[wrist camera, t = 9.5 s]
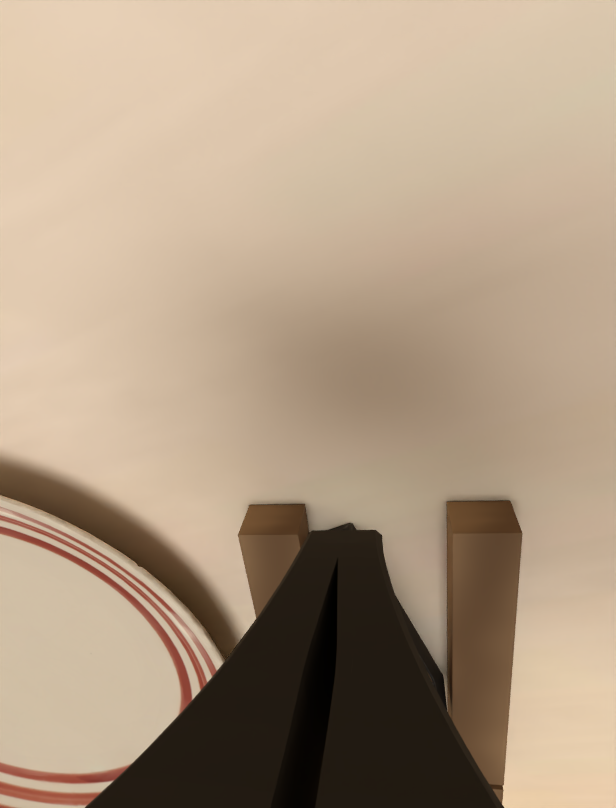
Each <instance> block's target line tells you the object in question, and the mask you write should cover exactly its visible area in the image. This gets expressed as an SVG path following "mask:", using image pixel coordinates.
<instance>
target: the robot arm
mask: <svg viewBox="0 0 616 808" xmlns="http://www.w3.org/2000/svg"><path fill="white" fill-rule="evenodd" d="M85 808H504V807H503V805H502V804H501V802H500V800H499V799H498V797H497V796H496V794H495V792H494V791H493V789H492V788H491V786H490V784H489V783H488V781H487V780H486V778H485V777H484V775H483V773H482V772H481V770H480V768H479V767H478V765H477V763H476V762H475V760H474V758H473V756H472V755H471V753H470V751H469V749H468V748H467V746H466V744H465V742H464V741H463V739H462V737H461V735H460V734H459V732H458V730H457V728H456V727H455V725H454V723H453V721H452V719H451V717H450V715H449V714H448V712H447V710H446V708H445V706H444V704H443V702H442V701H441V699H440V697H439V695H438V693H437V691H436V689H435V687H434V685H433V683H432V681H431V679H430V677H429V675H428V673H427V671H426V668H425V666H424V664H423V662H422V660H421V657H420V655H419V653H418V651H417V649H416V647H415V644H414V642H413V640H412V637H411V635H410V633H409V630H408V628H407V625H406V623H405V620H404V618H403V615H402V612H401V610H400V607H399V604H398V602H397V599H396V597H395V594H394V591H393V588H392V585H391V581H390V578H389V574H388V571H387V567H386V563H385V559H384V554H383V544H382V535H381V534H380V533H379V532H377V531H376V530H323V531H312V532H310V533H309V534H308V535H307V537H306V539H305V541H304V543H303V545H302V547H301V548H300V550H299V552H298V554H297V556H296V557H295V559H294V561H293V563H292V564H291V566H290V568H289V569H288V571H287V573H286V574H285V576H284V578H283V579H282V581H281V582H280V584H279V586H278V587H277V589H276V590H275V592H274V593H273V595H272V596H271V598H270V599H269V601H268V602H267V604H266V605H265V607H264V608H263V610H262V611H261V613H260V614H259V616H258V617H257V619H256V620H255V621H254V623H253V624H252V626H251V627H250V628H249V630H248V631H247V632H246V634H245V635H244V636H243V638H242V639H241V640H240V642H239V643H238V644H237V646H236V647H235V648H234V650H233V651H232V652H231V654H230V655H229V656H228V658H227V659H226V660H225V662H224V663H223V664H222V665H221V667H220V668H219V669H218V670H217V671H216V673H215V674H214V675H213V676H212V678H211V679H210V680H209V681H208V682H207V684H206V685H205V686H204V687H203V688H202V689H201V691H200V692H199V693H198V694H197V695H196V696H195V697H194V699H193V700H192V701H191V702H190V703H189V704H188V705H187V707H186V708H185V709H184V710H183V711H182V712H181V713H180V714H179V715H178V716H177V717H176V718H175V720H174V721H173V722H172V723H171V724H170V725H169V726H168V727H167V728H166V729H165V730H164V731H163V732H162V733H161V734H160V735H159V736H158V738H157V739H156V740H155V741H154V742H153V743H152V744H151V745H150V746H149V747H148V748H147V749H146V750H145V751H144V752H143V753H142V754H141V755H140V756H139V757H138V758H137V759H136V760H135V761H134V762H133V763H132V764H131V765H130V766H129V767H128V768H127V769H126V770H125V771H124V772H123V773H122V774H121V775H119V776H118V777H117V778H116V779H115V780H114V781H113V782H112V783H111V784H110V785H109V786H107V787H106V788H105V789H104V790H103V791H102V792H101V793H100V794H99V795H98V796H97V797H96V798H94V799H93V800H92V801H91V802H90V803H89V804H88V805H87V806H86V807H85Z"/></svg>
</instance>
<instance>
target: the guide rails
mask: <svg viewBox="0 0 616 808" xmlns="http://www.w3.org/2000/svg"><path fill="white" fill-rule="evenodd" d="M308 534H309V529H308V522H307V515H306V509H305V504H293V505H249V508H248V510H247V513H246V516H245V518H244V521H243V523H242V526H241V529H240V531H239V534H238V537H239V542H240V546H241V551H242V555H243V560H244V564H245V569H246V573H247V578H248V582H249V587H250V591H251V596H252V600H253V605H254V609H255V614H256V618H257V617H258V616H259V614H260V613H261V611H262V610H263V608H264V607H265V605H266V604H267V602H268V601H269V599H270V598H271V596H272V595H273V593H274V592H275V590H276V589H277V587H278V586H279V584H280V582H281V581H282V579H283V578H284V576H285V574H286V573H287V571H288V569H289V568H290V566H291V564H292V563H293V561H294V559H295V557H296V556H297V554H298V552H299V550H300V548H301V547H302V545H303V543H304V541H305V539H306V537H307V535H308ZM521 544H522V531H521V528H520V526H519V523H518V520H517V518H516V515H515V512H514V510H513V507H512V504H511V502H510V501H470V502H447V656H448V714H449V715H450V717H451V719H452V721H453V723H454V725H455V727H456V728H457V730H458V732H459V734H460V735H461V737H462V739H463V741H464V742H465V744H466V746H467V748H468V749H469V751H470V753H471V755H472V756H473V758H474V760H475V762H476V763H477V765H478V767H479V768H480V770H481V772H482V773H483V775H484V777H485V778H486V780H487V781H488V783H489V784H490V786H491V788H492V789H493V791H494V792H495V794H496V796H497V797H498V799H499V800H500V802H501V803H502V799H503V786H502V785H504V773H505V759H506V746H507V732H508V719H509V705H510V692H511V678H512V665H513V651H514V638H515V624H516V611H517V597H518V584H519V570H520V557H521Z"/></svg>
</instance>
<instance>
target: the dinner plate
mask: <svg viewBox="0 0 616 808" xmlns="http://www.w3.org/2000/svg"><path fill="white" fill-rule="evenodd" d="M224 662H225V660H224V658H223V657H222V655H221V653H220V651H219V649H218V648H217V647H216V644H215V643H214V642H213V640H212V639H211V637H210V636H209V634H208V633H207V631H206V630H205V629H204V627H203V626H202V625H201V623H200V622H199V621H198V619H197V618H196V617H195V616H194V615H193V613H192V612H191V611H190V610H189V609H188V608H187V607H186V606H185V605H184V604H183V603H182V602H181V601H180V600H179V599H178V598H177V597H176V596H175V595H174V594H173V593H172V592H171V591H170V590H169V589H168V588H167V587H166V586H164V585H163V584H162V583H161V582H160V581H158V580H157V579H156V578H155V577H154V576H152V575H151V574H150V573H149V572H148V571H147V570H145V569H144V568H143V567H139V566H138V565H137V564H136V563H135V562H134V561H133V560H131V559H130V558H128V557H127V556H126V555H124V554H123V553H121V552H120V551H118V550H116V549H115V548H113V547H111V546H110V545H108V544H107V543H105V542H103V541H102V540H100V539H98V538H96V537H95V536H93V535H91V534H90V533H88V532H86V531H84V530H82V529H80V528H78V527H76V526H74V525H72V524H71V523H69V522H67V521H65V520H62V519H60V518H58V517H56V516H54V515H51V514H49V513H47V512H45V511H42V510H40V509H37V508H35V507H32V506H30V505H27V504H25V503H22V502H19V501H16V500H13V499H11V498H8V497H5V496H2V495H0V808H85V807H86V806H87V805H88V804H89V803H90V802H91V801H92V800H93V799H94V798H96V797H97V796H98V795H99V794H100V793H101V792H102V791H103V790H104V789H105V788H106V787H107V786H109V785H110V784H111V783H112V782H113V781H114V780H115V779H116V778H117V777H118V776H119V775H121V774H122V773H123V772H124V771H125V770H126V769H127V768H128V767H129V766H130V765H131V764H132V763H133V762H134V761H135V760H136V759H137V758H138V757H139V756H140V755H141V754H142V753H143V752H144V751H145V750H146V749H147V748H148V747H149V746H150V745H151V744H152V743H153V742H154V741H155V740H156V739H157V738H158V736H159V735H160V734H161V733H162V732H163V731H164V730H165V729H166V728H167V727H168V726H169V725H170V724H171V723H172V722H173V721H174V720H175V718H176V717H177V716H178V715H179V714H180V713H181V712H182V711H183V710H184V709H185V708H186V707H187V705H188V704H189V703H190V702H191V701H192V700H193V699H194V697H195V696H196V695H197V694H198V693H199V692H200V691H201V689H202V688H203V687H204V686H205V685H206V684H207V682H208V681H209V680H210V679H211V678H212V676H213V675H214V674H215V673H216V671H217V670H218V669H219V668H220V667H221V665H222V664H223V663H224Z"/></svg>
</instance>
